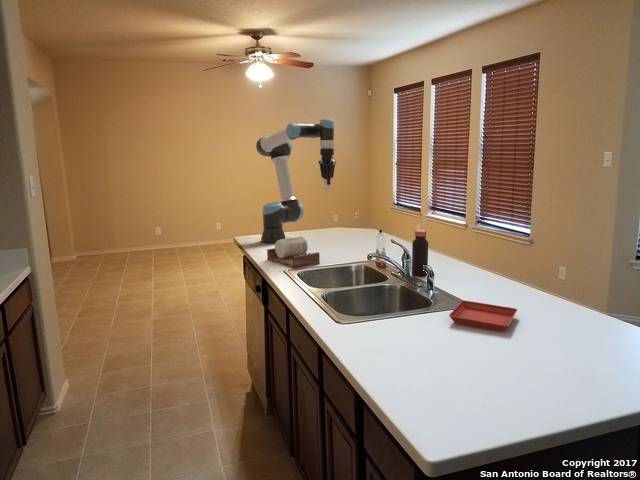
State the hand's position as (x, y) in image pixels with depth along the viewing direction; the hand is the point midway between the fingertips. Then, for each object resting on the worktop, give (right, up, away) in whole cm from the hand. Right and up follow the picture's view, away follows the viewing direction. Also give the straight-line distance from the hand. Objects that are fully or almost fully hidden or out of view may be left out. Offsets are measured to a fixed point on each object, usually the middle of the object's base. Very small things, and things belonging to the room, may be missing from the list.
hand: (327, 190), depth 267 cm
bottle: (+40, -44, -57) cm, 82 cm away
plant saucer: (+49, -54, -113) cm, 134 cm away
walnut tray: (-18, -39, -29) cm, 52 cm away
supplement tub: (-13, -31, -20) cm, 39 cm away
